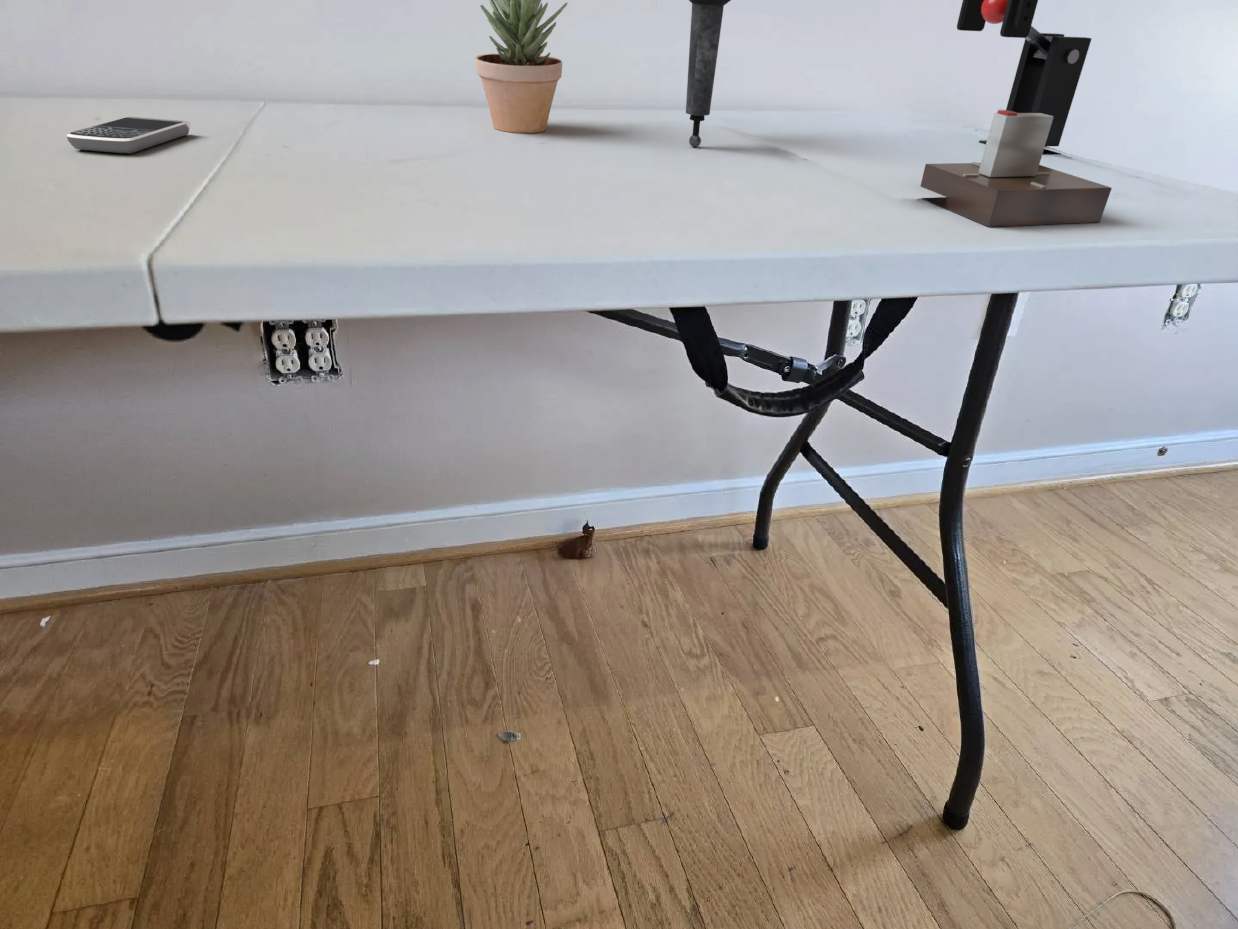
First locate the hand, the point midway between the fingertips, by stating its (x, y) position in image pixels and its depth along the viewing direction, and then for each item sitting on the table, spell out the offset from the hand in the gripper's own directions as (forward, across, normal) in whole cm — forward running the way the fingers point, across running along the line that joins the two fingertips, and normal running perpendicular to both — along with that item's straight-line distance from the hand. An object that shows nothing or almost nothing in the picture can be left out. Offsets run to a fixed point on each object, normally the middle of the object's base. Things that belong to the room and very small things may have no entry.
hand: (991, 31), depth 90 cm
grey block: (+10, +21, -12) cm, 26 cm away
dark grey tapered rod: (+13, -7, -30) cm, 33 cm away
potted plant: (+13, -18, -47) cm, 52 cm away
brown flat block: (+13, +21, -11) cm, 27 cm away
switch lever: (+1, 0, +4) cm, 4 cm away
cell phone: (+13, -11, -86) cm, 88 cm away
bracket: (+13, 0, +9) cm, 16 cm away
